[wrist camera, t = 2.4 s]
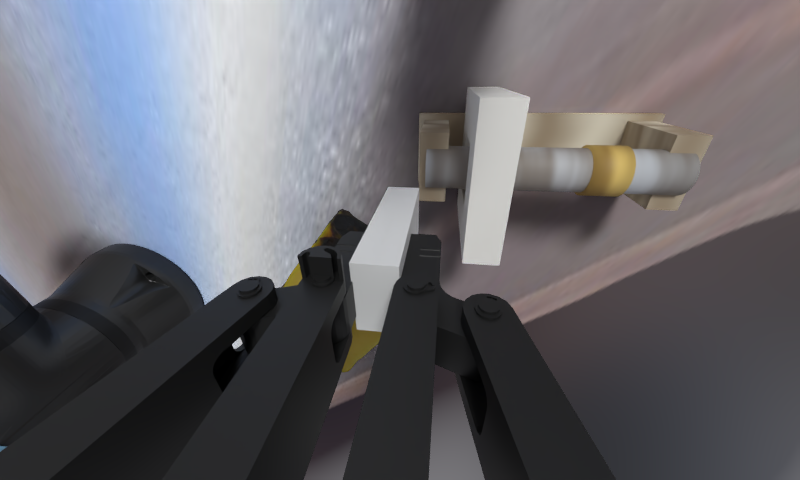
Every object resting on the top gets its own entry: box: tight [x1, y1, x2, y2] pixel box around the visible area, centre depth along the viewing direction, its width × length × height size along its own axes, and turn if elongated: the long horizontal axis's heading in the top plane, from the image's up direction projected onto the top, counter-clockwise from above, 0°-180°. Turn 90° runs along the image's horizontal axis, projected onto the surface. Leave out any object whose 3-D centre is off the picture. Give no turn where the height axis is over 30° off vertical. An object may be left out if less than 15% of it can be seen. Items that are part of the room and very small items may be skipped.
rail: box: [418, 113, 713, 211], centre depth 23 cm, size 19×6×8 cm, turn 91°
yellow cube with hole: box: [282, 209, 382, 372], centre depth 30 cm, size 10×10×10 cm
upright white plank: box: [457, 87, 530, 266], centre depth 22 cm, size 2×10×10 cm, turn 1°
